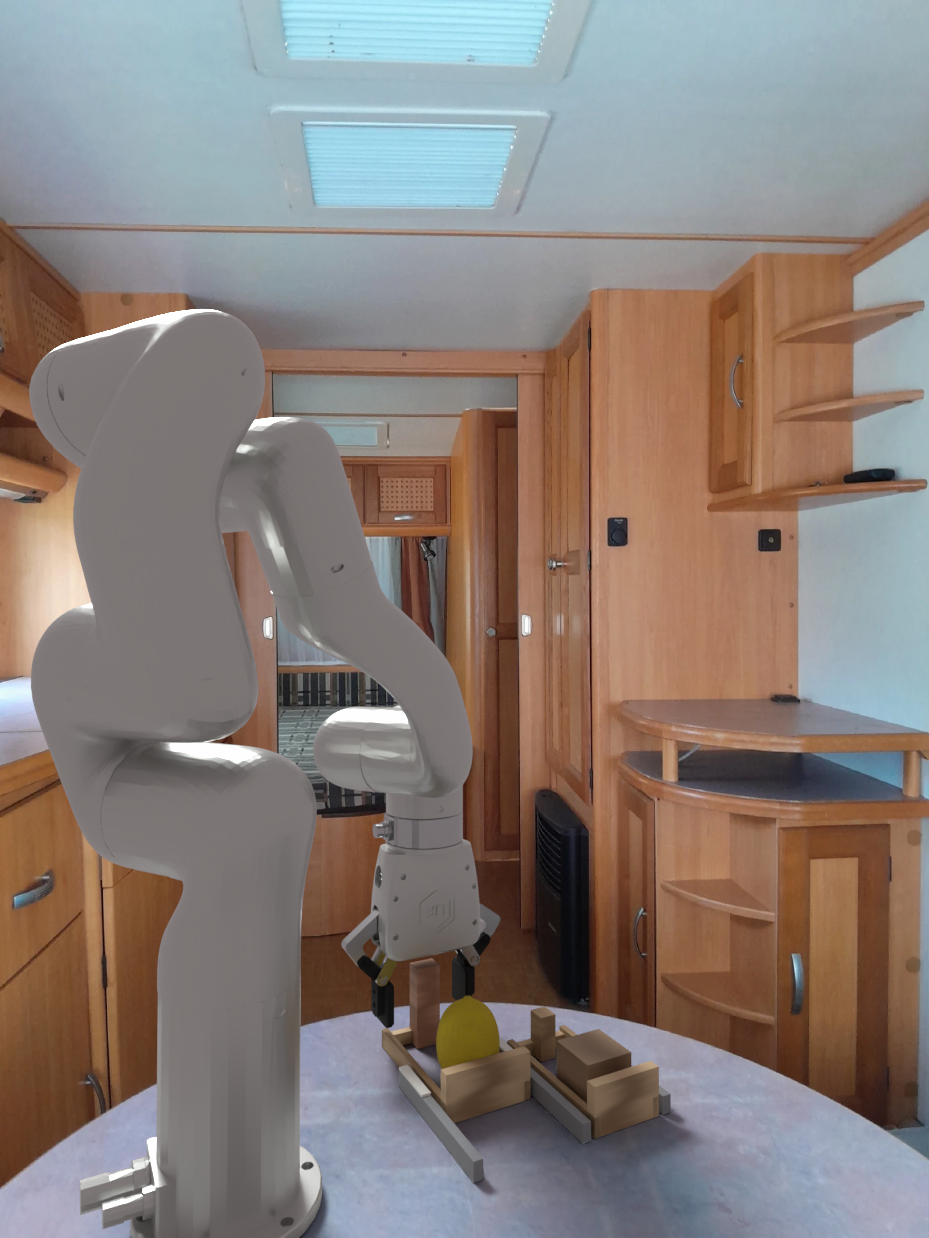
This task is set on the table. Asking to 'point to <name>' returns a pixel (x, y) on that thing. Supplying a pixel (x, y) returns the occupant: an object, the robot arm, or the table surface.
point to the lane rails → (456, 1139)
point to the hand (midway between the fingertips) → (424, 1010)
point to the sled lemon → (466, 1083)
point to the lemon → (466, 1033)
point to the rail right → (664, 1101)
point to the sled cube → (596, 1081)
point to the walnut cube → (589, 1059)
